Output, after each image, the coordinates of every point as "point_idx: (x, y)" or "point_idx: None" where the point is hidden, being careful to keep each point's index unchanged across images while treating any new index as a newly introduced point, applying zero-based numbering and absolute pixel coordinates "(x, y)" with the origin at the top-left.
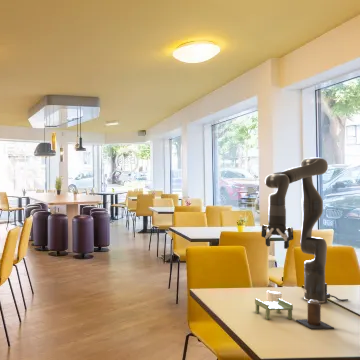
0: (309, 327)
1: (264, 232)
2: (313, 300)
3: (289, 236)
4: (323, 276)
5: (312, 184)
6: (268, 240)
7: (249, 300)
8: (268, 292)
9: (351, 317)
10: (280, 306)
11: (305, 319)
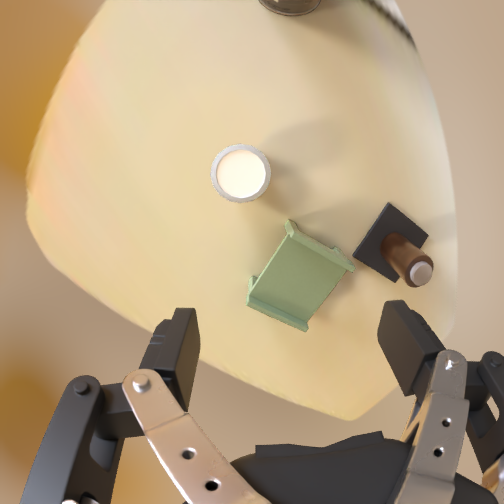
0: (390, 279)
1: (110, 471)
2: (422, 276)
3: (477, 428)
4: None
5: None
6: (188, 386)
7: (159, 183)
8: (231, 200)
9: (427, 92)
10: (320, 278)
11: (370, 233)
